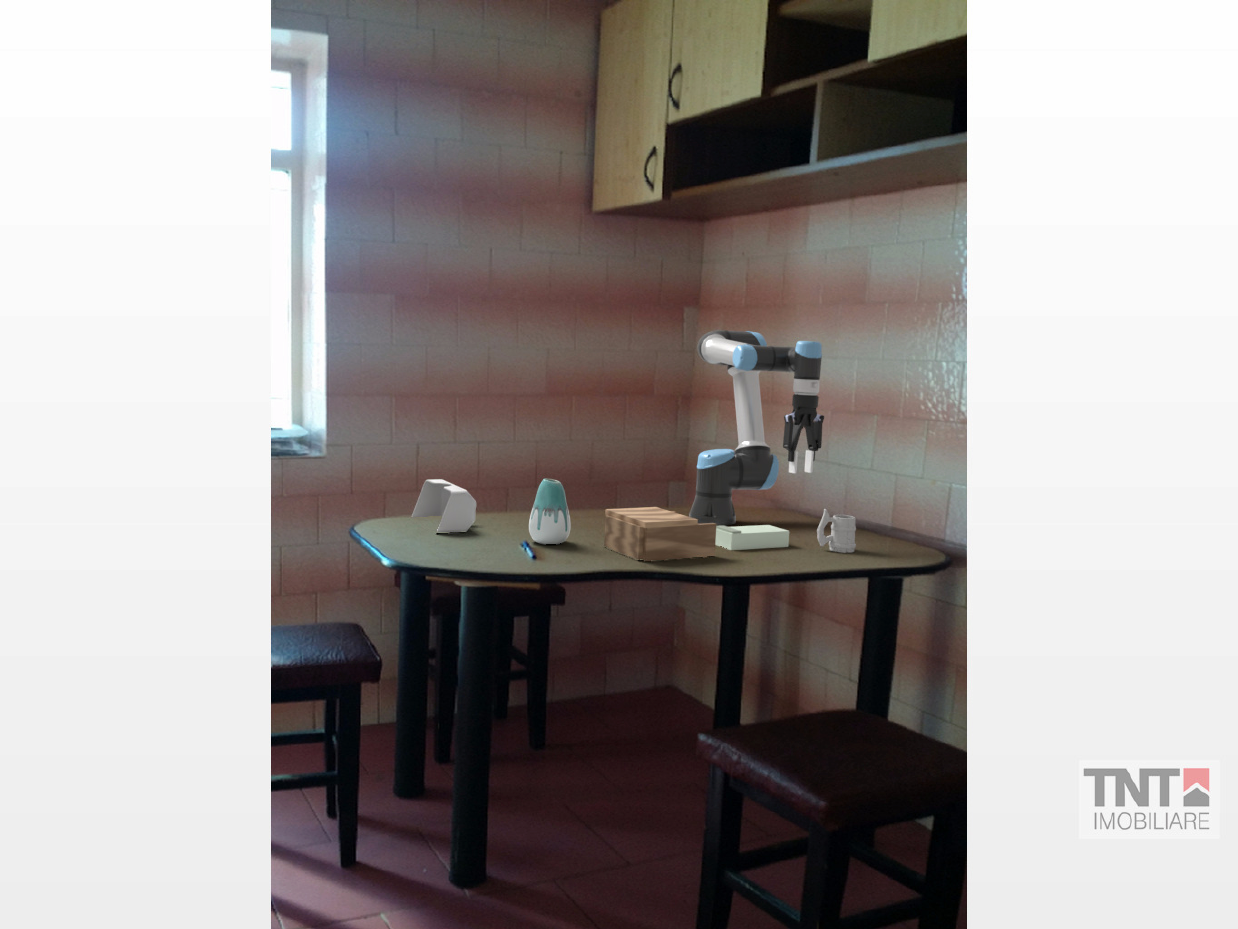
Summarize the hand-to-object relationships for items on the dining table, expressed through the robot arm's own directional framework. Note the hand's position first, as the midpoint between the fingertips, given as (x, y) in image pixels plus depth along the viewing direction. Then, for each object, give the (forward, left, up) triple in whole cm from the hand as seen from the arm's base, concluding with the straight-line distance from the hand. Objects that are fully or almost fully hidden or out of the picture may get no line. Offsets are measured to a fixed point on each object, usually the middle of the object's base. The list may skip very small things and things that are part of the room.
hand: (800, 472), depth 312 cm
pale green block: (0, -17, -21) cm, 27 cm away
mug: (+14, +3, -21) cm, 25 cm away
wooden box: (0, -49, -21) cm, 53 cm away
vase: (-20, -72, -21) cm, 78 cm away
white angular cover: (-52, -89, -21) cm, 105 cm away
